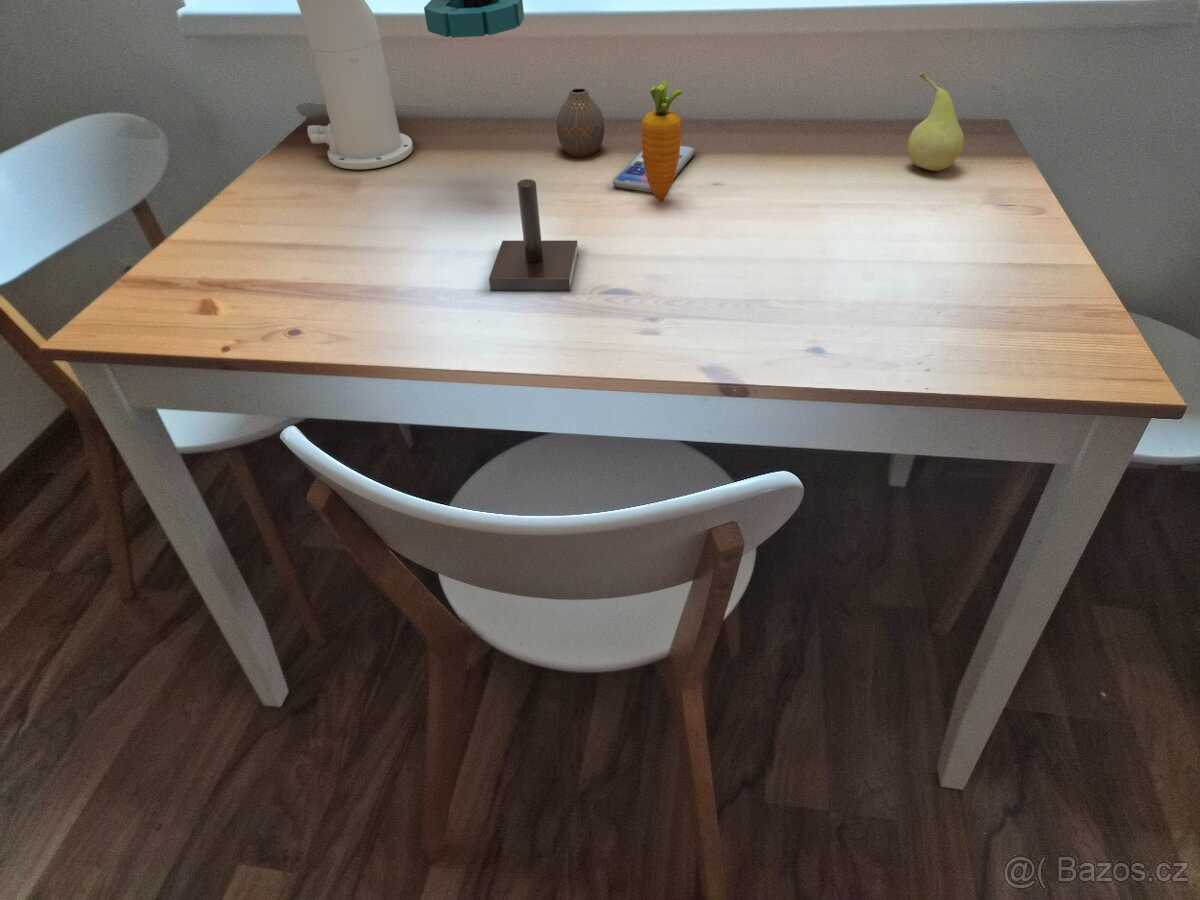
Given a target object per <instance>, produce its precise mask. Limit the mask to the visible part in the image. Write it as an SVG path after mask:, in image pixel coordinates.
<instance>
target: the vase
mask: <svg viewBox="0 0 1200 900" xmlns="http://www.w3.org/2000/svg"><path fill="white" fill-rule="evenodd" d="M556 133H557V138H558V142H559V144H560V146H561V147H562V149H563V150H564V151H565V152H566V153H567V154H568V155H569V156H572V157H575V158H576V157H577V158H585V157H590V156H592V155H594V154H595V153H597V151H598V150H599V149H600V148H601V146H602V144H603V141H604V137H605V119H604V116H603V113H602V110H601V108H600V107H599V106H598V104H597V103H596V102H595V100H594V99H593V98H592V97H591V95H590V93H589V91H588V89H587V88H585V87H573V88H571V89H570V90H569V93H568V96H567V97H566V99H565V101H564V102H563V104H562V106H561V107H560V109H559V111H558V115H557V119H556Z"/></svg>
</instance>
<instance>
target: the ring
mask: <svg viewBox="0 0 1200 900" xmlns="http://www.w3.org/2000/svg"><path fill="white" fill-rule="evenodd" d="M491 2H492V5H488V6H484V7H480V8H465V7H464V1H463V0H429V2H427V4H425V6H424V7H423V11H424V16H425V20H426V21H425V22H426V27H427V28H426V29H427V31H428V32H429V33H432V34H435V35H439V36H441V37H445V38H449V37H451V38H452V39H454V38H474V37H476V38H477V37H478V38H479V37H485V36H486V35H487V36H493V35H497V34H500V33H504V32H508V31H512V30H514V29H517V28H518V27H521V25H522V23H523V21H524V19H525V11H524V3H523V0H491Z"/></svg>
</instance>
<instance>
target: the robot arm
mask: <svg viewBox="0 0 1200 900" xmlns="http://www.w3.org/2000/svg"><path fill="white" fill-rule="evenodd" d="M463 1H464V7H465V8H480V7H484V6H488V5H492V2H491V0H463ZM296 3H297V6H298V8H299V11H300V14H301V18H302V21H303V26H304V28H305V32H306V35H307V39H308V43H309V48H310V50H311V55H312V57H313V62H314V66H315V70H316V73H317V77H318V81H319V84H320V89H321V93H322V96H323V100H324V104H325V107H326V112H327V116H328V120H329V123H328V124H327V125H318V124H317V125H316V124H315V125H308V126H307V129H306V130H307V136H308V138H309V140H310V142H311V144H326V145H327V146H329V147H328V149H327V151H326V155H327V158H328V161H329V162H330V164H332V165H334V166H336V167H338V168H341V169H347V170H372V169H379V168H383V167H387V166H390V165H393V164H396V163H399V162H401V161H403V160H404V159H406V158H408V157H409V156H410V155H411V154H412V152H413V150H414V144H413V140H412V138H411V137H410V136H408V135H407V134H404V133H402V132H400V127H399V123H398V118H397V113H396V109H395V103H394V99H393V94H392V89H391V85H390V79H389V75H388V70H387V65H386V59H385V55H384V49H383V46H382V45H383V44H382V40H381V35H380V31H379V26H378V23H377V20H376V16H375V14H374V12H373V11H372V9H371V7H370V6H369V4H368V3H367V1H366V0H296Z"/></svg>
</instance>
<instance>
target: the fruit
mask: <svg viewBox="0 0 1200 900" xmlns="http://www.w3.org/2000/svg"><path fill="white" fill-rule="evenodd" d="M918 76H919V77H920V78H921V79H922V80H923V81H924V82H926V83H928V84H929V85H930V86H931V87H932V88H933V90H934V92H935V97H934V101H933V104H932V107H931V109H930V111H929V114H928V116H927V117H926V118H925V119H924V120H922V121H921V122H920V123H918V124H916V126H915V127H914V128H913V129H912V131H911V133H910V135H909V137H908V139H907V144H906V145H907V146H906V150H907V155H908V157H909V159H910V161H911V162H912V164H914V165H915V166H917V167H918V168H921V170H923V169H924V170H928V171H930V172H939V171H943V170H945V169H947V168H948V167H950V166H951V165H953V164H954V163H955V162H956V161H957V159H958V158H959V157H960V156H961V154H962V151H963V149H964V144H965V136H964V132H963V130H962V128H961V125H960V124H959V120H958V117H957V115H956V111H955V106H954V102H953V100H952V97H951V95H950V94H949V92H948V91H947V90H946V89H945V88H943V87H939V86H938V85H937V84H936V83H934V82H933V80H931V79H930V78H929V77H928V76H927V75H926V74H925V73H924V72H923V71H920V73H919V74H918Z"/></svg>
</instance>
